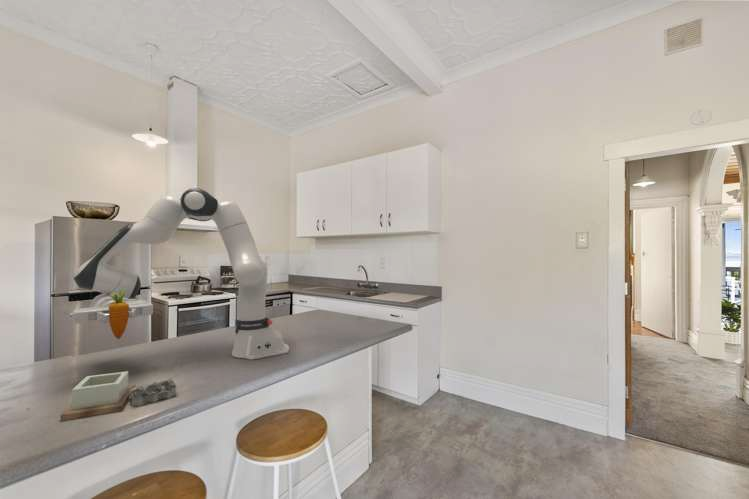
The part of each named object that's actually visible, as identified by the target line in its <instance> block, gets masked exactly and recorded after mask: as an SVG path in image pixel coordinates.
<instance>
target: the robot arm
mask: <svg viewBox="0 0 749 499" xmlns="http://www.w3.org/2000/svg"><path fill="white" fill-rule="evenodd" d="M242 212H243V211H241V209H240V207H239V206H238V204H237V203H236V202H234V201H231V200H223V201H220V202H219V201H218V199H217V198H215V197H214V196H213V195H212V194H210V193H209V192H208V191H206V190H204V189H202V188H197V187H192V188H189V189H186V190H185V191H184V192H183V193H182V195H181V196H180V198H179V197H177V196H174V195H168V194H166V195H163V196H160V198H159V199H158V200H156V201H155V203H154V204H153V205H152V206H151V207H150V208H149V210H148V211H147V213H146V214H145V215H144V216H143V217H142V219H140V220H139V221H137V222H135V223H128V224H126V225H124V226H123V227H122V228H120V229H119V230H118V231H117V232H116V233H114V235H113V236H112V237H110V239H109V240H107V242H105V244H103V246H101V247H100V248H99V250H97V251H96V253H94V254H93V255H92V256H91V257H90V258H89V259H88V260H87V261H85V262H84V263H83V264H81V265H80V266H79V267H78V268H77V269H76V271H75V273H74V276H73V280H74V282H75V284H76V285H77V286H78V288H80V289H85V290H89V291H95V292H98V293H100V294H99V295H97V296H95V297H94V298H93V299H92V300H91V302H90V305H89V307H82V308H76V309H74V310H73V312H71V313H69V317H71V318H72V323H73V324H84V323H95V322H101V323H104V324H109V325H110V322H109V320H110V314H109V305H110V304H112V303H116V302H115V300H114V299H113V298H112V297H110V296H109V295H110V294H111V295H113V296H114V293H116V294H117V296H118V297H120V295H119V291H121V290H122V291H123V293H124V296H123V299H122V302H125V303H127V304H128V305H129V314H128V320H129V319H133V318H138V317H143V316H144V317H145V316H151V315H153V314H154V304H153V303H152V302H150V301H148V300H144V299H143V298H142V297H137V295H138V293H139V292H140V289H141V286H142V284H141V283H142V282H141V278H140V277H139V275H138V274H136V273H133V272H130V271H128V270H124V269H121V268H118V267H115V266H112V265H110V264H107V263H108V261H109V260H110V259H112V257H113V256H114V255H115V254H116V253H117V252H118V251H120V249H121V248H122V247H123V246H125V245H127V244H146V245H159V244H164V243H166V242H168V241H169V240H170V239H171V238H172V237H173V235H174V234H175V232H176V231H177V229H178V227H179V226H180V225H181V223H182V222H183V221H184V220H185V219H189V220H193V221H198V222H209V221H211V220H212V221H213V222H214V223H215V225H216V226H217V230H218V232H219V234H220V236H221V239H222V242H223V244H224V246H225V249H226V252H227V256H228V258H229V262H230V265H231V269H232V272H233V275H234V279H235V280H236V281H237V283H238V284H239V285H238V290H237V297H236V319H235V321H234V333H235V337H234V344H233V347H232V350H231V351H232V352H231V356H232V357H234V358H239V359H245V360H256V359H257V360H258V359H261V358H262V359H263V358H267V357H268V358H269V357H274V356H278V355H284V354H287V353H289V352H290V347H289V345H288V344H287V343H285V342H284V337H283V335H282V333H281V332H280V331H278V330H276V329H275V328H274V327H272V326H271V325H273V320H272V319H271V318H269V317H266V297H267V296H266V295H267V285H268V284H267V283H268V266H267V263H266V262H265V261H263V260H262V259H261V258H260V255H259V252H258V249H257V247H256V246H257V245H256V243H255V239H254V237H253V234H252V232H251V230H250V227H249V224H248V222H247V220H246V218H245V216H244V214H243V213H242Z"/></svg>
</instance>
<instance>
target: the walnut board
mask: <svg viewBox="0 0 749 499" xmlns="http://www.w3.org/2000/svg"><path fill="white" fill-rule="evenodd" d="M134 387H136V384H130V385H129V384H128V389H127V391H126V392H125V394H124V395H123V397H122V398H121V399H120V401H119V402H118V403H112V404H105V405H99V406H93V407H86V408H80V409H73V410H72V403H70V405H69V406H68V407H66V409H65V410H64V411H63V412H62V413H61V414H60V422H65V421H70V420H75V419H76V420H77V419H83V418H84V419H85V418H89V417H95V416H101V415H107V414H112V413H118V412H119V413H120V412H123V410H124V408H125V407H126V406H127V404H128V402H130V392H129V391H130V390H131V389H133V388H134Z"/></svg>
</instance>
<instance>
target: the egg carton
mask: <svg viewBox="0 0 749 499" xmlns="http://www.w3.org/2000/svg"><path fill="white" fill-rule="evenodd" d="M177 388H178V387H177V385H176V383H175V381H174V379H173V378H172V377H171V378H168V379H165V380H161V381H159V382H157V381H155V382H153V383H148V384H146V385H137V386H136V385H135V387H134V388H133V389H131V390H130V391H129V392H130V399H129V402H130V403H131V407H142V406H143V405H146V404H147V403H156V402H158V401H159V400H162V399H171V398H173V397H174V396H176V389H177Z"/></svg>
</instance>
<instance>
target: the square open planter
mask: <svg viewBox="0 0 749 499" xmlns="http://www.w3.org/2000/svg"><path fill="white" fill-rule="evenodd" d="M128 386H129V371H128V370H127V371H120V372H113V373H112V372H111V373H103V374H96V375H95V374H94V375H88V376H85V377H84V378H83V379H82V380H81V381H80V382H79V383H78V384H77V385H75V387H74V388H72V390H71V404H72V410H73V409H80V408H86V407H93V406H99V405H105V404H112V403H118V402H119V401H120V399H121V398H122V397H123V395H124V394H125V392H126V391H127V389H128Z"/></svg>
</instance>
